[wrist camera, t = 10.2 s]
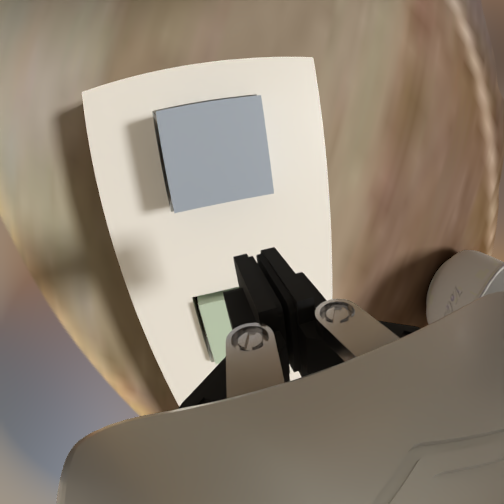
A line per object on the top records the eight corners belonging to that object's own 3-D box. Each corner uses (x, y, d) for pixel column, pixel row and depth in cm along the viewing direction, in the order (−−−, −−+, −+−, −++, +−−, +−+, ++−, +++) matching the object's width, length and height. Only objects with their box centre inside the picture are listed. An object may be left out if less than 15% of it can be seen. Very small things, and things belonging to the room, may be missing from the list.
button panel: (294, 67, 17) (312, 57, 14) (315, 401, 29) (326, 420, 26) (96, 98, 14) (81, 91, 12) (202, 432, 27) (206, 454, 24)
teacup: (409, 268, 25) (467, 308, 18) (471, 222, 26) (525, 247, 19) (414, 354, 31) (452, 392, 24) (468, 309, 32) (506, 338, 25)
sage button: (269, 272, 20) (278, 286, 18) (276, 330, 22) (284, 346, 20) (196, 289, 19) (198, 305, 17) (211, 346, 21) (215, 364, 19)
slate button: (251, 100, 14) (261, 95, 13) (263, 187, 16) (274, 193, 14) (158, 115, 14) (155, 111, 12) (175, 204, 15) (174, 213, 14)
